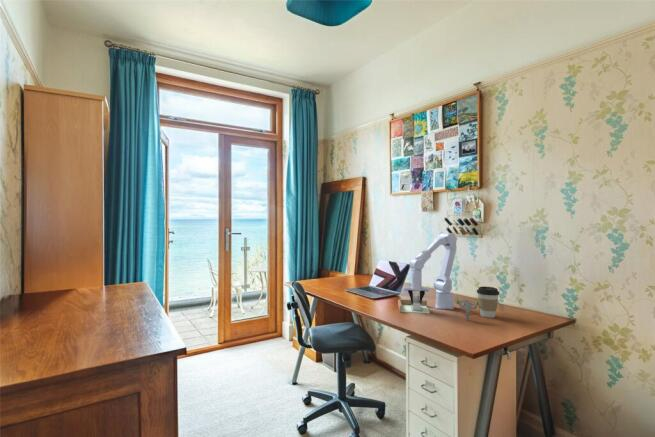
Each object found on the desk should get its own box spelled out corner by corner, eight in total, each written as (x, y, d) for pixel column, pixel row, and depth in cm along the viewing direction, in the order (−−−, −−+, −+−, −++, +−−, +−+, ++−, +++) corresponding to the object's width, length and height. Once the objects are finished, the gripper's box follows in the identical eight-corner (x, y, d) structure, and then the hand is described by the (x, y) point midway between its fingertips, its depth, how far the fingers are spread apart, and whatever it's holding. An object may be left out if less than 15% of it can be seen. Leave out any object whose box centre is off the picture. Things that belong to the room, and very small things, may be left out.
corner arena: (426, 306, 205) (426, 300, 205) (430, 313, 189) (430, 307, 189) (397, 304, 207) (397, 299, 207) (399, 312, 191) (399, 305, 191)
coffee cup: (476, 312, 193) (477, 285, 193) (499, 314, 188) (499, 287, 188) (475, 317, 183) (476, 289, 182) (499, 320, 178) (499, 291, 178)
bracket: (420, 310, 193) (420, 298, 193) (413, 310, 193) (413, 297, 193) (418, 306, 201) (418, 294, 201) (411, 306, 202) (411, 294, 202)
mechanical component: (478, 321, 175) (478, 302, 175) (457, 320, 177) (457, 301, 177) (477, 320, 178) (477, 300, 177) (456, 318, 180) (456, 299, 180)
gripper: (428, 279, 199) (428, 302, 199) (402, 278, 201) (402, 301, 201) (430, 281, 192) (430, 305, 192) (403, 280, 194) (403, 304, 194)
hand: (416, 303), depth 196 cm, fingers closed on bracket, 4 cm apart
